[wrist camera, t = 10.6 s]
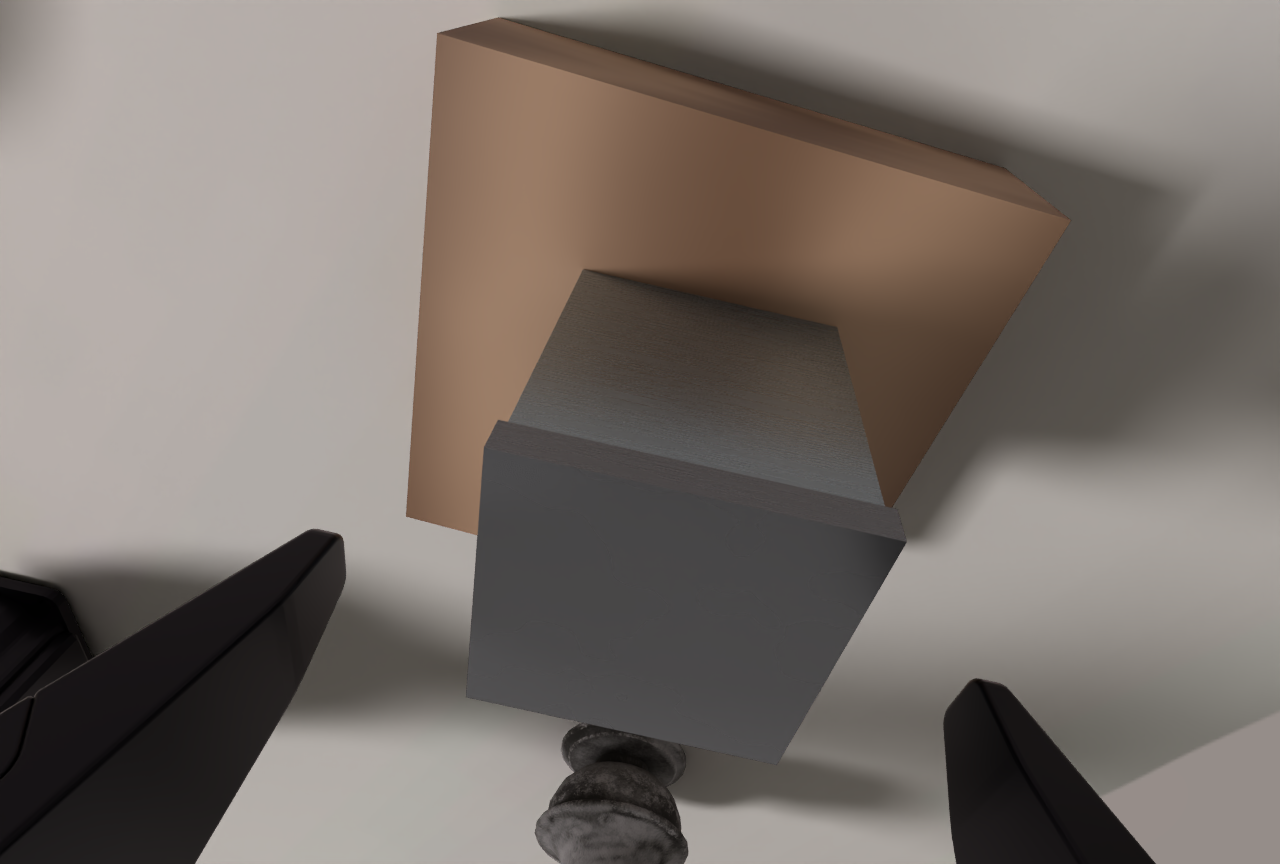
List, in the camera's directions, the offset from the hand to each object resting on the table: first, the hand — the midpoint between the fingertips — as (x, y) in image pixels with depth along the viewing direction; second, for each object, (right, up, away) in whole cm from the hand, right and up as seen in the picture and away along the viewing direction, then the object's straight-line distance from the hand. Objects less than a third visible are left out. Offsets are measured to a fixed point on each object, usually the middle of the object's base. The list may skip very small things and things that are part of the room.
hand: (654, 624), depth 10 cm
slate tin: (+1, +3, +5) cm, 6 cm away
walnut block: (+1, +6, +8) cm, 10 cm away
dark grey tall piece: (-1, -11, +20) cm, 22 cm away
